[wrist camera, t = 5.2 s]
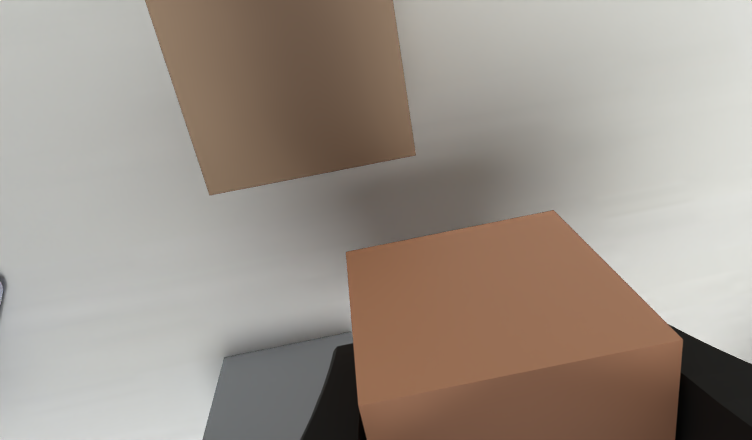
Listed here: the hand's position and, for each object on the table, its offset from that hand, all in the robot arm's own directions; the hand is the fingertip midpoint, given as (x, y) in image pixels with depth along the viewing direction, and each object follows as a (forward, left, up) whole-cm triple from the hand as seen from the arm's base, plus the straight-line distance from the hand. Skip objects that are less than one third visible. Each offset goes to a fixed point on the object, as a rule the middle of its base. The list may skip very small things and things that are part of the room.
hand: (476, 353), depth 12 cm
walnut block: (-6, +4, -7) cm, 10 cm away
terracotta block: (0, 0, -1) cm, 1 cm away
